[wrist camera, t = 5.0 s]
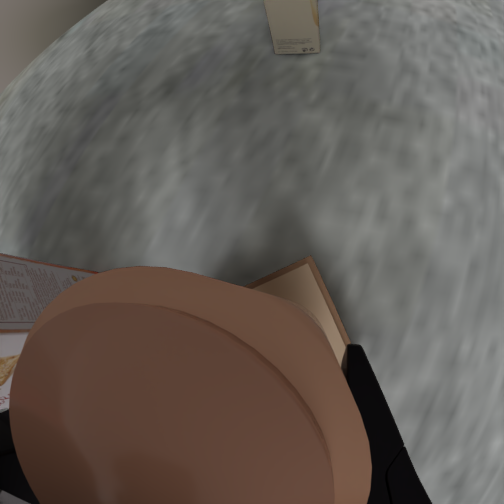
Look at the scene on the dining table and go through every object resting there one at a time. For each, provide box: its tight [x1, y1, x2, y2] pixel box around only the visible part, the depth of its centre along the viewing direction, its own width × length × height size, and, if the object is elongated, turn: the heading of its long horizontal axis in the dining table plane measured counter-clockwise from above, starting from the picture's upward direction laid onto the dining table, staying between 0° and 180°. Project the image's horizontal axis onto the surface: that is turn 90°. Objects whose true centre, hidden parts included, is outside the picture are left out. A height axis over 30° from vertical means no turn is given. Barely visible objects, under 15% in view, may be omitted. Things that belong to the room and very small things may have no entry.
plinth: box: [244, 255, 351, 367], centre depth 20 cm, size 8×8×3 cm
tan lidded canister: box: [9, 266, 372, 504], centre depth 9 cm, size 6×6×13 cm
